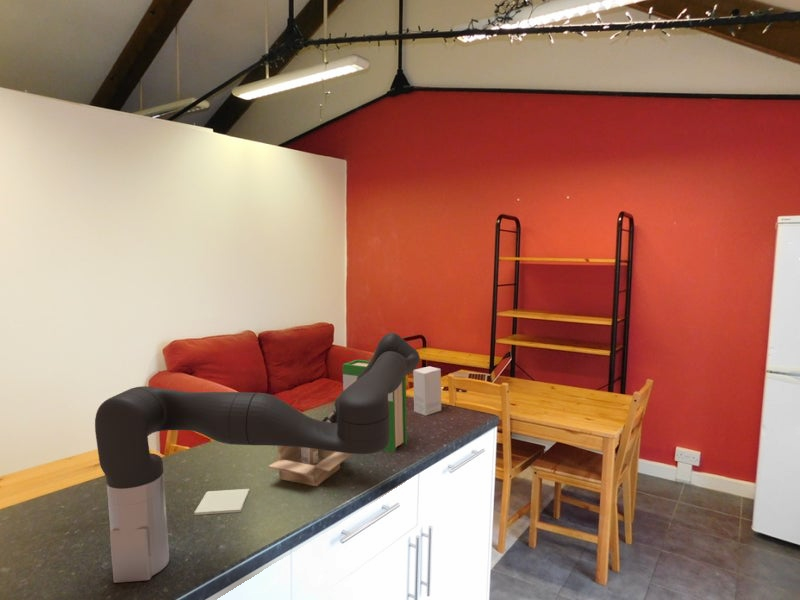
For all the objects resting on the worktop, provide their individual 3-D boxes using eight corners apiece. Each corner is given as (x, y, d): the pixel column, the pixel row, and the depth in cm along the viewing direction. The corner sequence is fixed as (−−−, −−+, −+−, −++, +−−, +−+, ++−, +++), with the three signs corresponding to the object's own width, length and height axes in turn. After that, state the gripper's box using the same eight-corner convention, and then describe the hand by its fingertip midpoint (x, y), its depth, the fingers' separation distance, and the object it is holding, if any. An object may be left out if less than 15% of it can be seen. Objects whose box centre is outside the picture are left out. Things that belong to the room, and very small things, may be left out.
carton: (360, 464, 137) (359, 421, 136) (320, 496, 119) (319, 447, 118) (313, 456, 143) (311, 415, 142) (269, 485, 126) (267, 438, 124)
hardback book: (407, 443, 151) (405, 365, 149) (393, 452, 145) (392, 370, 142) (359, 433, 160) (357, 359, 158) (344, 441, 154) (342, 364, 152)
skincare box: (430, 407, 186) (429, 365, 185) (442, 411, 181) (442, 368, 180) (413, 412, 181) (412, 369, 180) (425, 416, 176) (424, 372, 174)
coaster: (240, 512, 113) (240, 509, 113) (194, 515, 112) (194, 512, 112) (249, 491, 123) (249, 488, 123) (207, 493, 122) (207, 491, 122)
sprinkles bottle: (322, 474, 131) (320, 424, 130) (305, 478, 129) (303, 427, 128) (314, 468, 135) (313, 419, 134) (298, 472, 133) (296, 422, 131)
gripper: (352, 418, 117) (313, 459, 123) (380, 401, 130) (344, 439, 136) (331, 394, 119) (294, 435, 125) (361, 380, 132) (326, 418, 138)
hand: (320, 437), depth 130 cm, fingers open, 8 cm apart
